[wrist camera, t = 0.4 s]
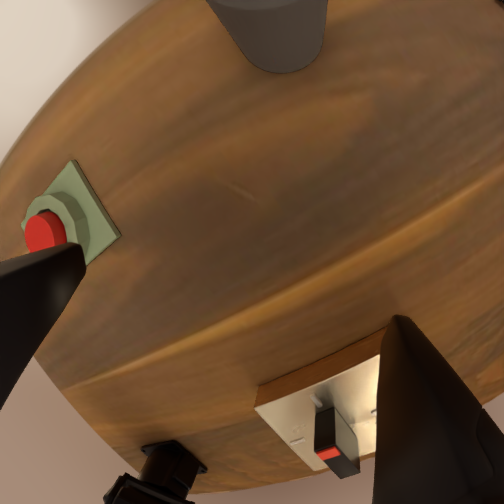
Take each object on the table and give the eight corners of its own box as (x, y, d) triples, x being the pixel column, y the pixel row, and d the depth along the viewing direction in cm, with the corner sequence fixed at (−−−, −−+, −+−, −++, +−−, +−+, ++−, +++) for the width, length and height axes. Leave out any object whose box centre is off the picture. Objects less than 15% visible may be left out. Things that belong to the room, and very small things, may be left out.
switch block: (62, 288, 28) (47, 297, 25) (24, 223, 27) (8, 228, 24) (121, 235, 25) (104, 243, 23) (75, 159, 24) (56, 161, 21)
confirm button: (52, 263, 25) (40, 270, 23) (32, 227, 24) (19, 232, 22) (74, 240, 24) (61, 246, 22) (52, 202, 23) (38, 205, 21)
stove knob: (357, 438, 24) (360, 475, 20) (339, 445, 24) (340, 481, 20) (334, 407, 23) (335, 446, 19) (314, 415, 23) (313, 453, 19)
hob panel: (315, 450, 29) (314, 472, 26) (258, 386, 27) (252, 409, 24) (439, 397, 25) (448, 418, 22) (405, 315, 23) (415, 336, 20)
